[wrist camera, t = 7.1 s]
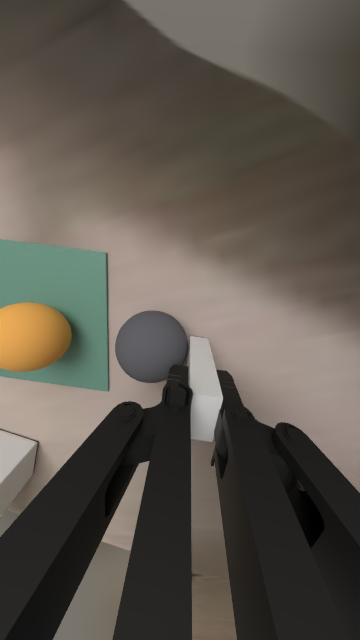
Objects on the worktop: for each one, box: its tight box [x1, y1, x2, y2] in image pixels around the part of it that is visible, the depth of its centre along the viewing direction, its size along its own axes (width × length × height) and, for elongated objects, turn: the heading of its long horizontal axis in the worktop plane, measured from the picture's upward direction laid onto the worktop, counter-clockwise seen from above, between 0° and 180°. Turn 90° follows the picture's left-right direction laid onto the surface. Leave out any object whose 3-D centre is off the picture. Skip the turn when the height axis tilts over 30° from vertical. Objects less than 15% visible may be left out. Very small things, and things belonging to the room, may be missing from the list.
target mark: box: [0, 239, 109, 391], centre depth 16 cm, size 14×14×1 cm
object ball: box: [0, 302, 72, 372], centre depth 13 cm, size 6×6×6 cm
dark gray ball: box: [115, 311, 188, 383], centre depth 13 cm, size 6×6×6 cm
